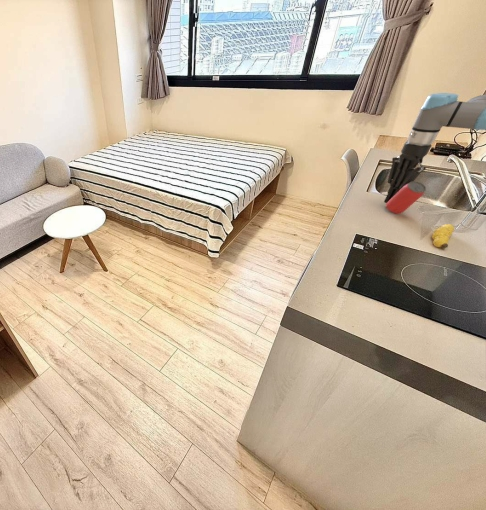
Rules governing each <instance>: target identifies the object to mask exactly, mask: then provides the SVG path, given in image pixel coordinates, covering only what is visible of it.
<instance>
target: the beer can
mask: <svg viewBox="0 0 486 510" xmlns="http://www.w3.org/2000/svg"><path fill="white" fill-rule="evenodd" d="M426 190H427V188H426V186H425V184H424V183H422V182H419V181H416V180H414V181H412V182H410V183H408V184H406V185H405V186H403V187H402V188H401V189H400V190H399V191H398V192H397V193H396V194H395V195H394V196H393V197H392V198H391V199H390V200H389V201H388V202H387V203H385V207H386V209H387V210H388V211H389V212H391V213H392V214H395V215H397V214H399V215H400V214H403V213H405V211H406V210H408V209H409V208H410V207H411V206H412V205H414V204H415V203H416V202H417V201H418V200H419V199H420V198H422V196H424V193H425V192H426Z"/></svg>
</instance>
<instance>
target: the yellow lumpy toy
mask: <svg viewBox="0 0 486 510" xmlns="http://www.w3.org/2000/svg"><path fill="white" fill-rule="evenodd" d="M454 231H455V227H454V225H453V224H449V223H446V224H442V225H441V226H439V227H437V228H436V229H435V230H434V231H433V234H432V235H431V238H432V240H433V242H432V243H433V245H434V247H436V248H441V249H446V248H448V247H449V244H448V243H449V241H450V237H451V236H452V234H453V233H454Z"/></svg>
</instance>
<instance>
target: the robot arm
mask: <svg viewBox="0 0 486 510" xmlns="http://www.w3.org/2000/svg"><path fill="white" fill-rule="evenodd" d="M458 98H459V95H458V94H457V93H450V92H435V93H432V94H430V95H428V96H427V98H426V99H425V101H424V103H423V105H422V107H421V108H420V110H419V113H418V114H417V117H416V119H415V121H414V123H413V126H412V128H411V129H410V132H409V134H408V136H407V137H406V141H405V142H404V144H403V146H402V148H401V149H400V153H401V154H399V156H396V157H394V156H393V157H392V159H391V168H390V170H389V174H388V178H387V183H388V184H389V188H388V190H387V194H386V196H385V199H384V201H383V203H384V204H387V202H388V201H389V200H390V199H391V198H392V197H393V196H394V195H395V194H396V193H397V192H398V191H399V190H400V189H401V188H402V187H403V186H405V185H406V184H408V183H410V182H412V181H416V179H417V178H418V177H419V175H420V174H421V173H423V172H424V171H425V170H426V169H427V167H426V166H423V165H422V163H423V160H424V158H425V157H426V156H428V154H429V152H430V150H431V148H432V144H434V143H435V141H436V139H437V138H438V135H439V133H440V131H441V129H442V128H443V127H446V128H456V129H468V130H475V131H486V94H482V95H477V96H474V97H472V98H470V99H469V100H467V101H460V100H458Z"/></svg>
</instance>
